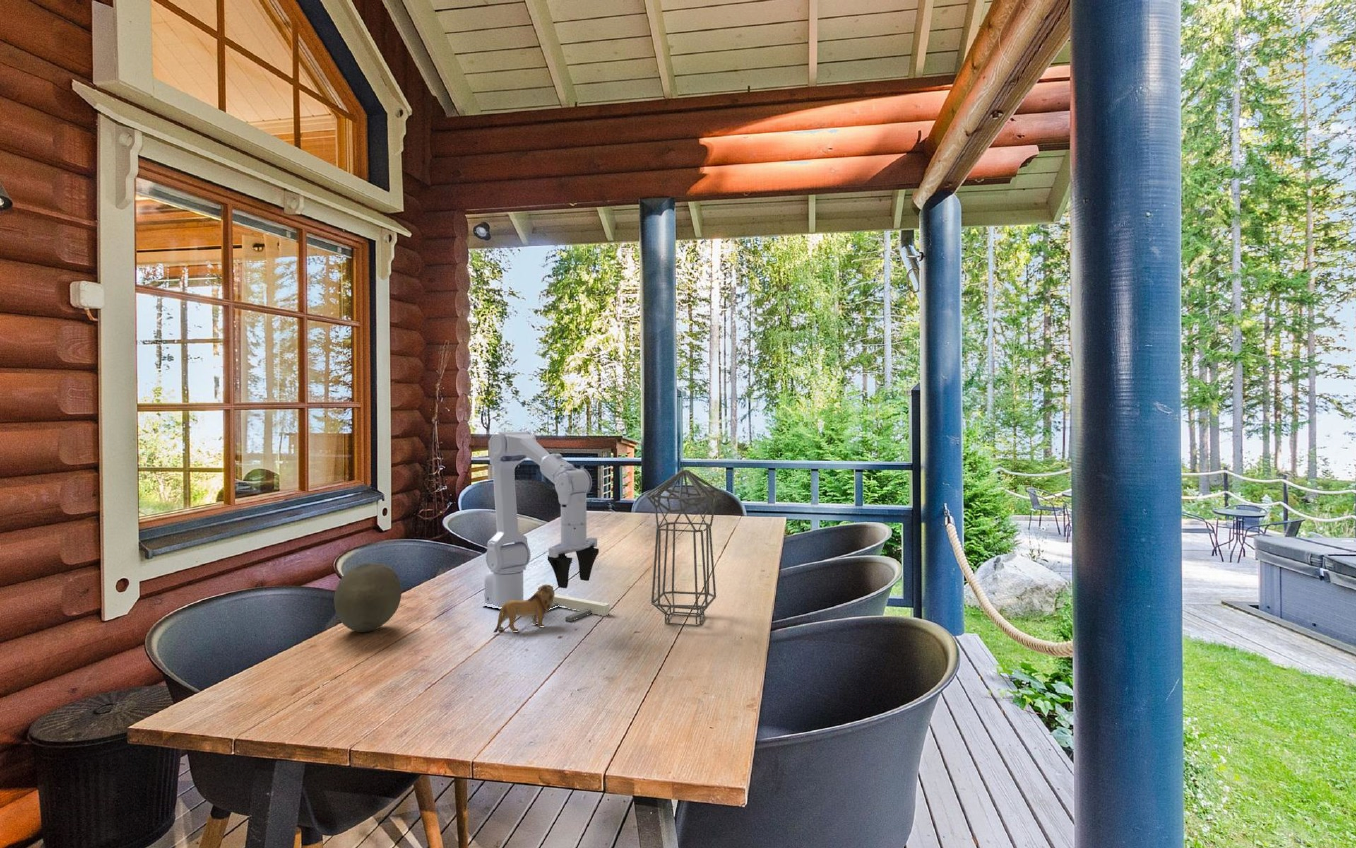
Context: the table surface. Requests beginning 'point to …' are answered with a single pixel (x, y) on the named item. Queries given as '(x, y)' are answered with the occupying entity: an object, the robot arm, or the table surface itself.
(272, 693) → the table surface
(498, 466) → the robot arm
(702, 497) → the geometric lantern
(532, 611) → the lion figurine
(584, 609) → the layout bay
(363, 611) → the cantaloupe
